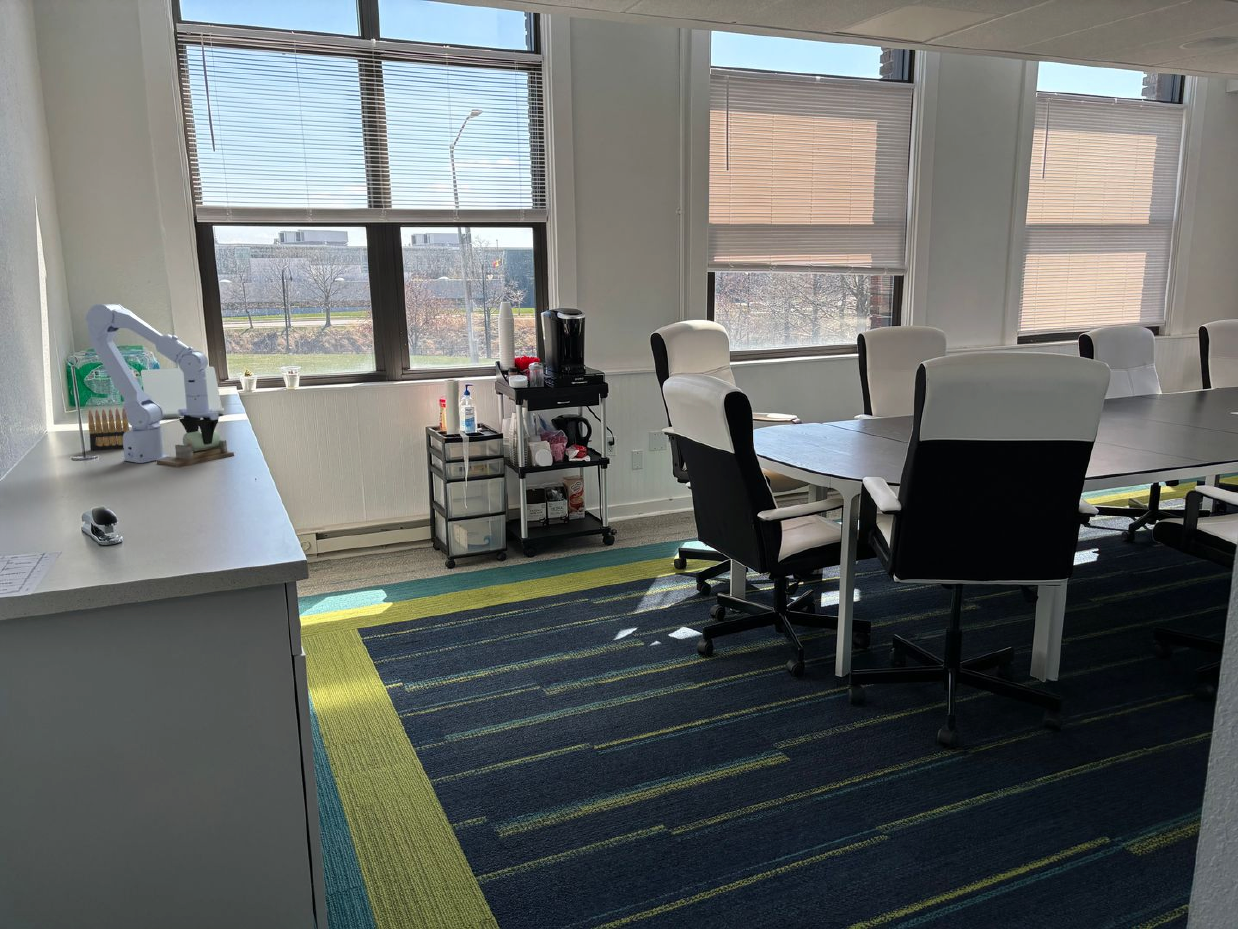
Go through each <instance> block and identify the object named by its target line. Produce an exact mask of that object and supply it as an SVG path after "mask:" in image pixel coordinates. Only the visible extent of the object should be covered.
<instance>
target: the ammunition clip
mask: <svg viewBox="0 0 1238 929" xmlns="http://www.w3.org/2000/svg"><path fill="white" fill-rule="evenodd" d="M121 412H122V414H120V411H119V409H118V408H116V409H115V419H114V414H113V412H112V409H111V408H110V409H109V410H108V417H107V413H106V411H105V409H104V408H103V409H102V412H101V417H100V412H99V411H98V409H96V410H95V413H94V415H95V416H94V415H93V413H92V410H89V411H88V432H89V446H90V448H89V449H90V452H92V451H94V452H95V451H108V450H109V451H110V450H111V451H112V450H124V449H123V434H124V433H125V432H127V431H130V426H129V425H130V424H129V423H128V421H127V414H126V411H125V409H124V408H122V411H121ZM121 417H122V419H121ZM94 418H95V419H94ZM107 418H108V419H107Z"/></svg>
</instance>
